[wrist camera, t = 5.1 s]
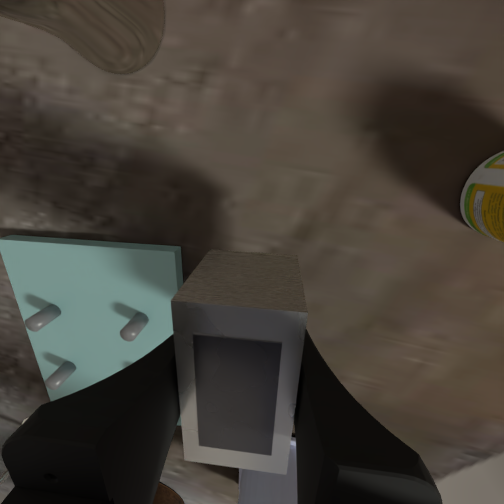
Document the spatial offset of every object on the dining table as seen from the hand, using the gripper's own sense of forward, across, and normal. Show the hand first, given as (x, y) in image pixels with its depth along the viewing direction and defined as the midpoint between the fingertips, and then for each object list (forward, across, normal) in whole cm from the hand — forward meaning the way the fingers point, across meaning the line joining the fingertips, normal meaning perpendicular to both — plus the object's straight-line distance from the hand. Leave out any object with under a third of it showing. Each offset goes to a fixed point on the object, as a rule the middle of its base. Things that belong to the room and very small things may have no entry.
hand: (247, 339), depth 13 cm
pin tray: (+7, +13, +7) cm, 16 cm away
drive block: (+2, 0, 0) cm, 2 cm away
